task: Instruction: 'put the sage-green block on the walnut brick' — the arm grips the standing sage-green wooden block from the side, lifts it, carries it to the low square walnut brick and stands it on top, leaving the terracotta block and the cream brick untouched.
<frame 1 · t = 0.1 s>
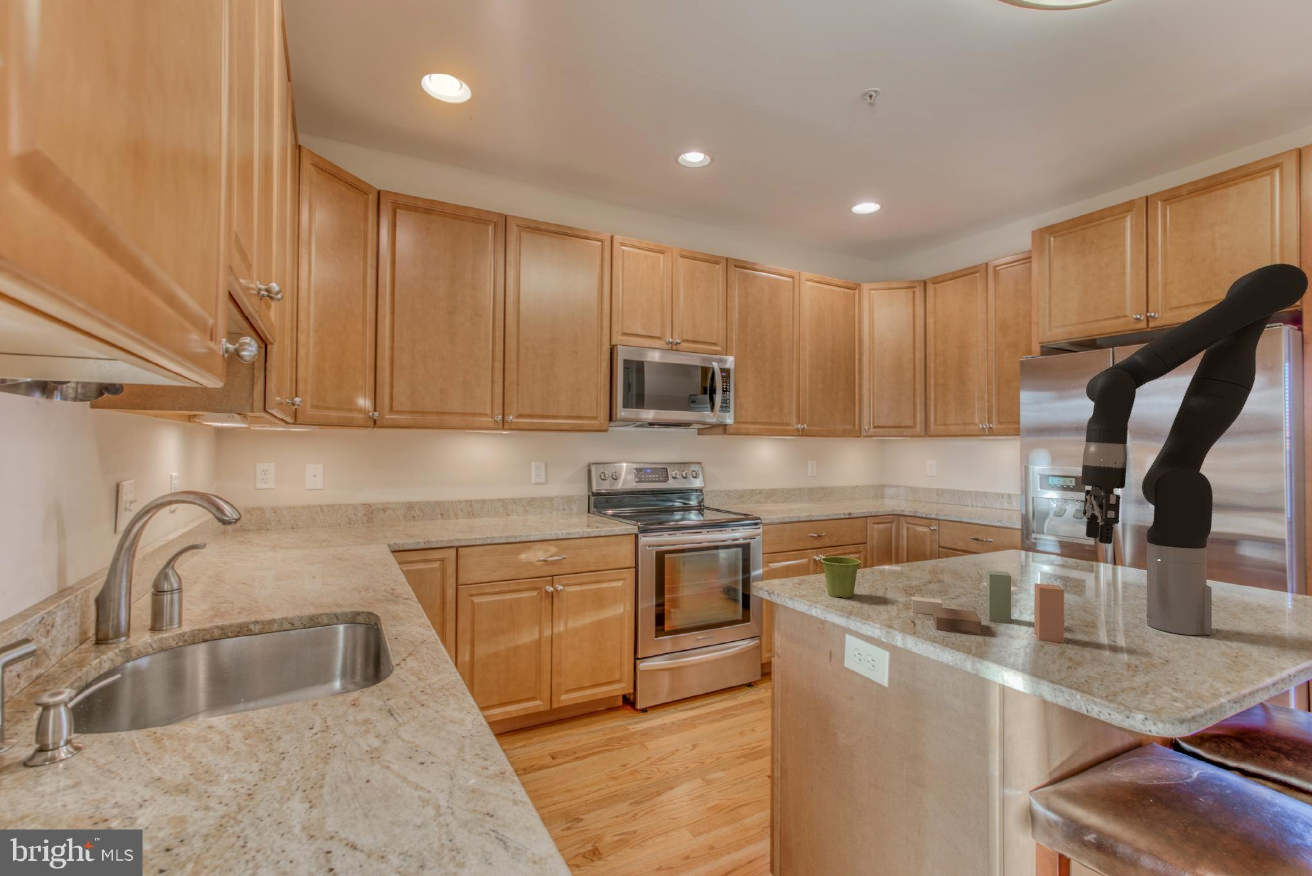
hand: (1098, 540, 126), 17 cm above the countertop, tool pointing down, fingers open, 8 cm apart
sage block: (998, 619, 127), on the countertop
terracotta block: (1048, 637, 115), on the countertop
walnut brick: (956, 628, 122), on the countertop
cream brick: (926, 613, 132), on the countertop
object: (840, 596, 146), on the countertop
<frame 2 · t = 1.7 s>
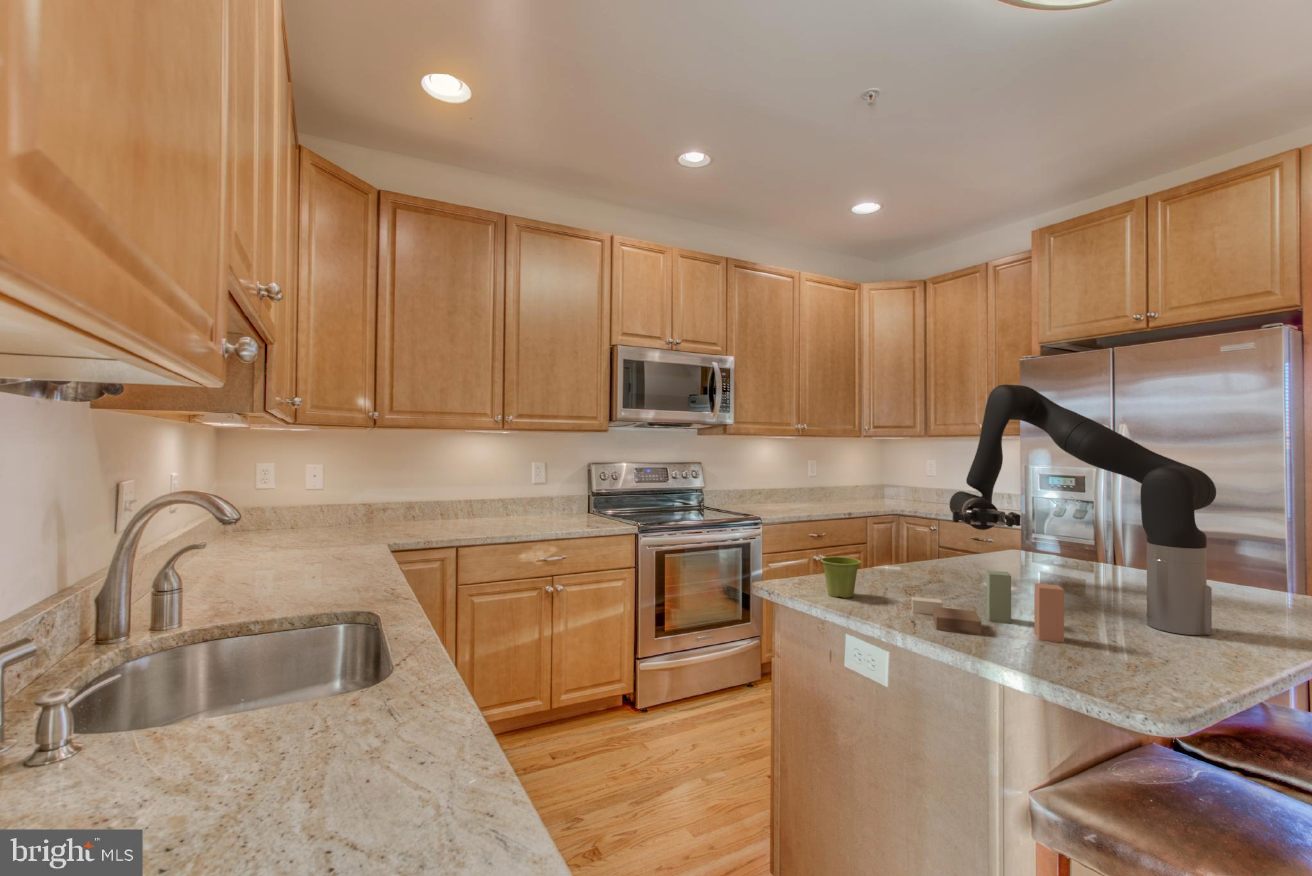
hand: (989, 521, 137), 20 cm above the countertop, tool horizontal, fingers open, 8 cm apart
nothing on the countertop moved.
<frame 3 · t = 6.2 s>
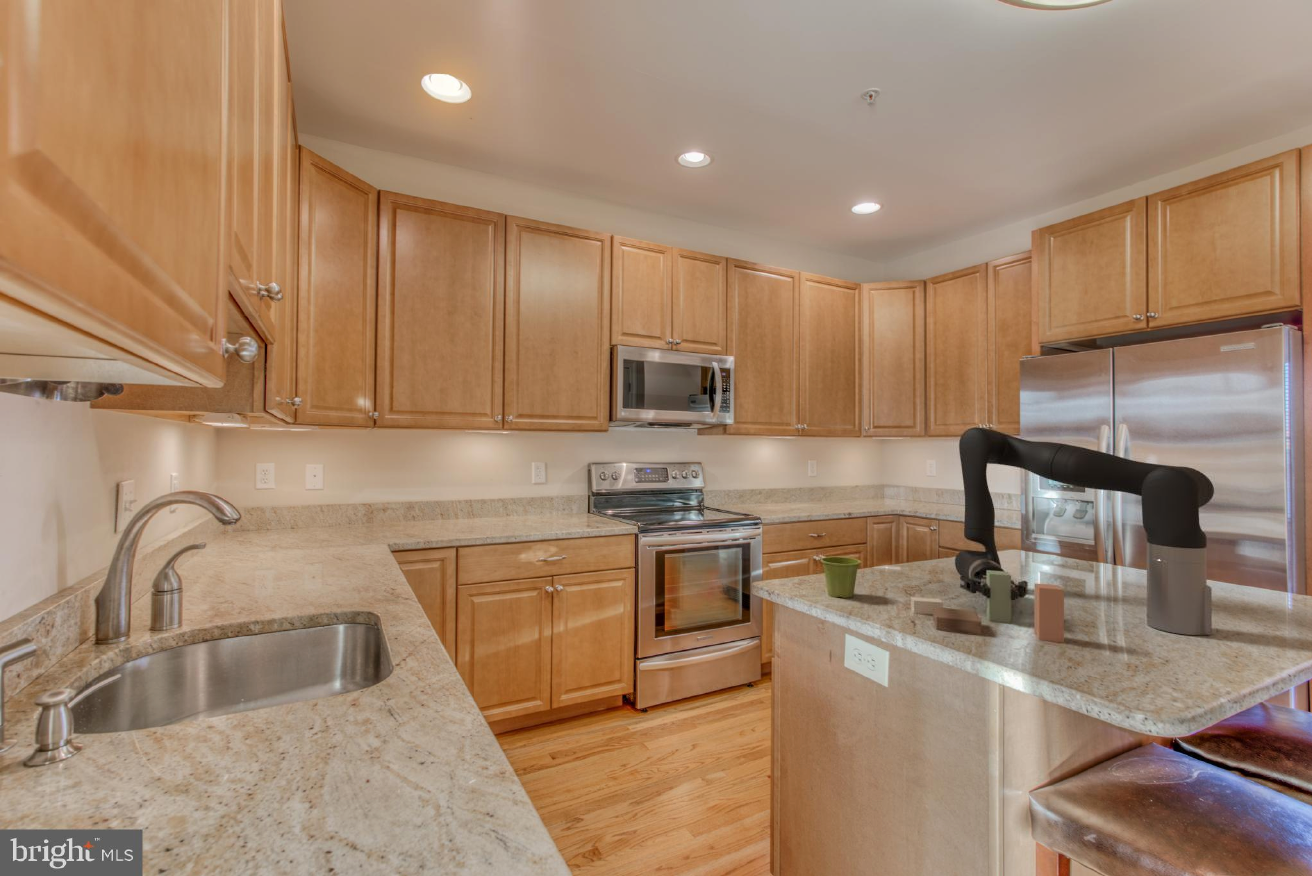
hand: (1001, 594, 124), 6 cm above the countertop, tool horizontal, fingers closed on sage block, 4 cm apart
sage block: (998, 619, 127), on the countertop, touching gripper
everything else where it was.
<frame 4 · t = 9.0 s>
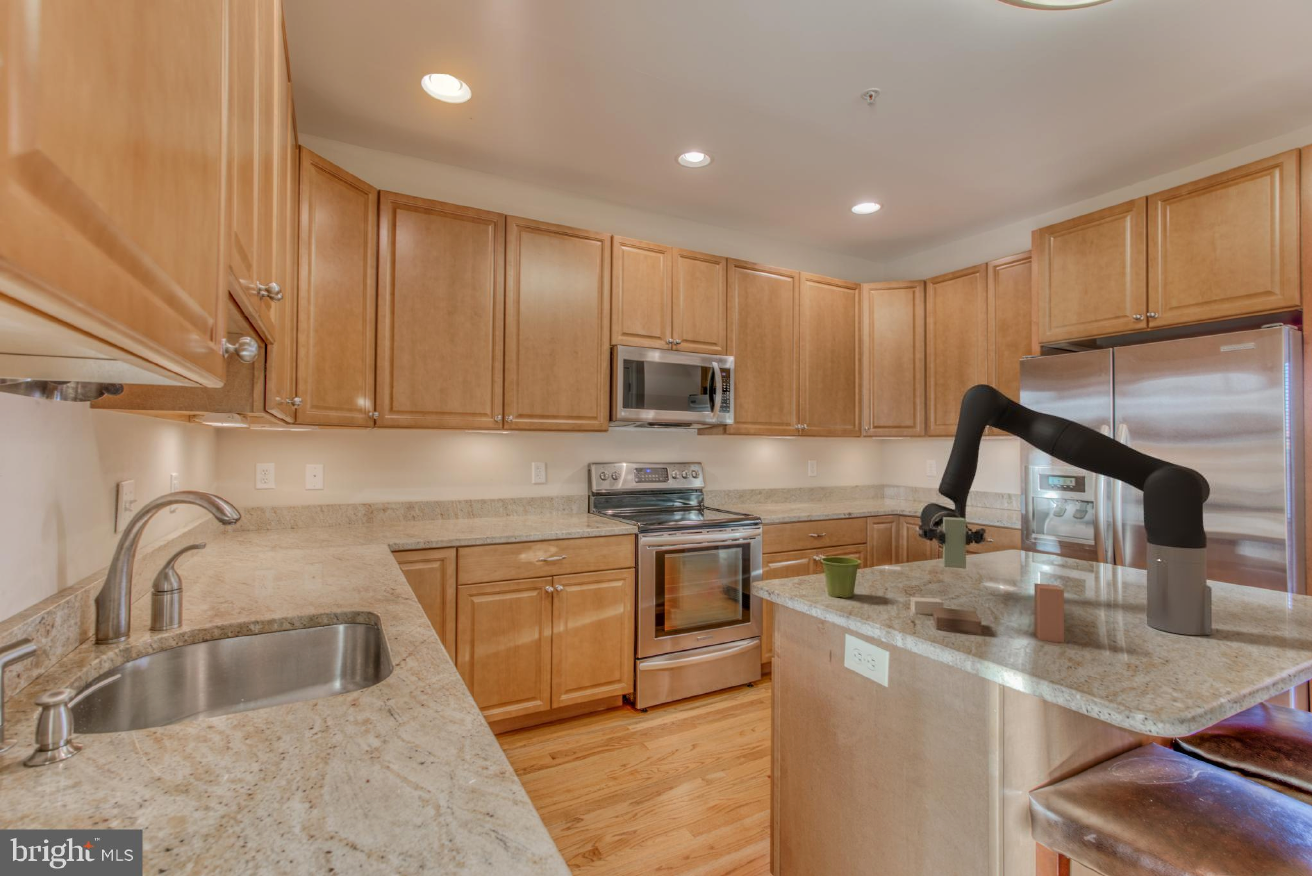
hand: (955, 539, 122), 18 cm above the countertop, tool horizontal, fingers closed on sage block, 4 cm apart
sage block: (954, 565, 125), point 12 cm above the countertop, touching gripper
everything else where it was.
when the fingers open (10 cm above the countertop, at t = 11.6 s): sage block drops 1 cm, point 3 cm above the countertop.
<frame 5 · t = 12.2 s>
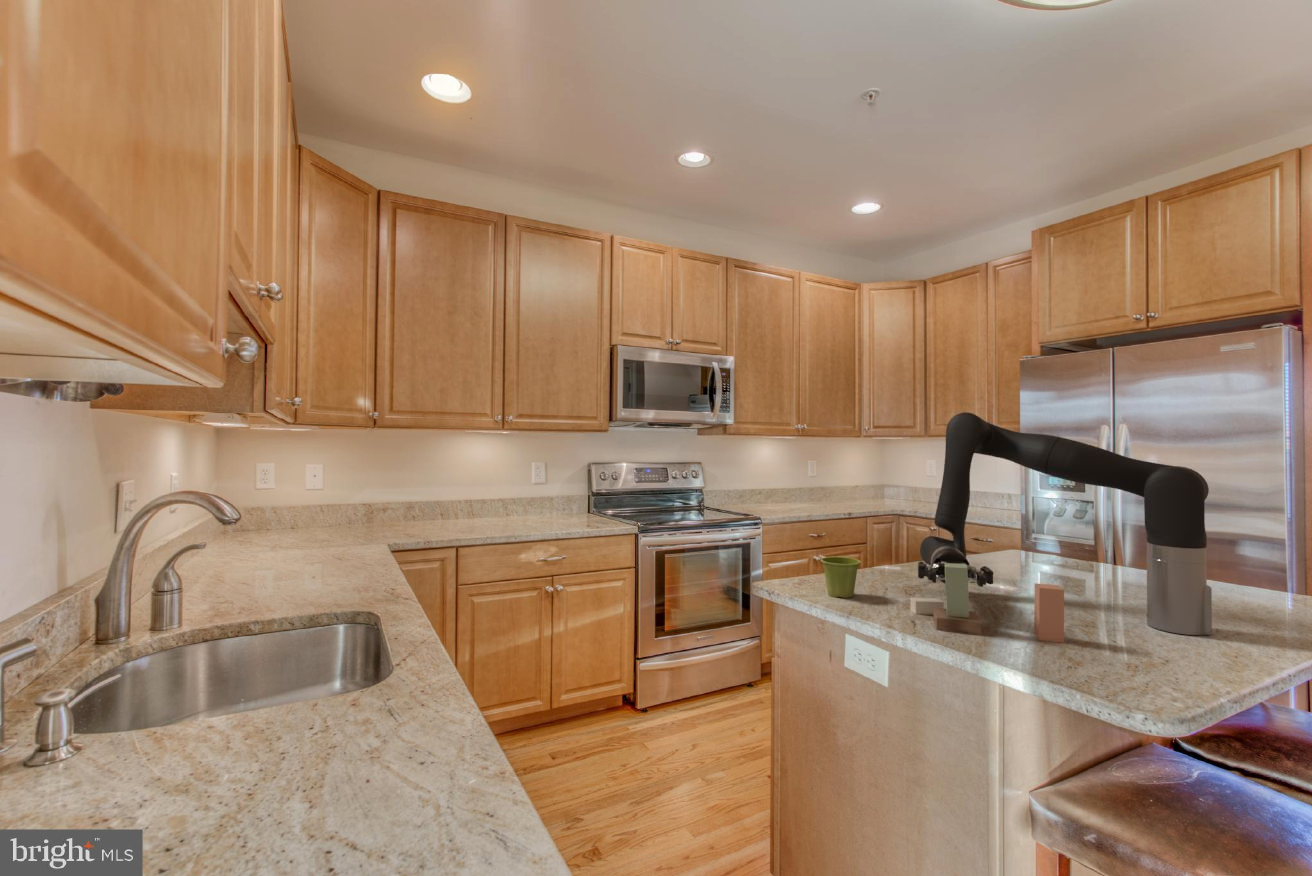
hand: (957, 579, 120), 10 cm above the countertop, tool horizontal, fingers open, 8 cm apart
sage block: (957, 614, 121), point 3 cm above the countertop
everything else where it was.
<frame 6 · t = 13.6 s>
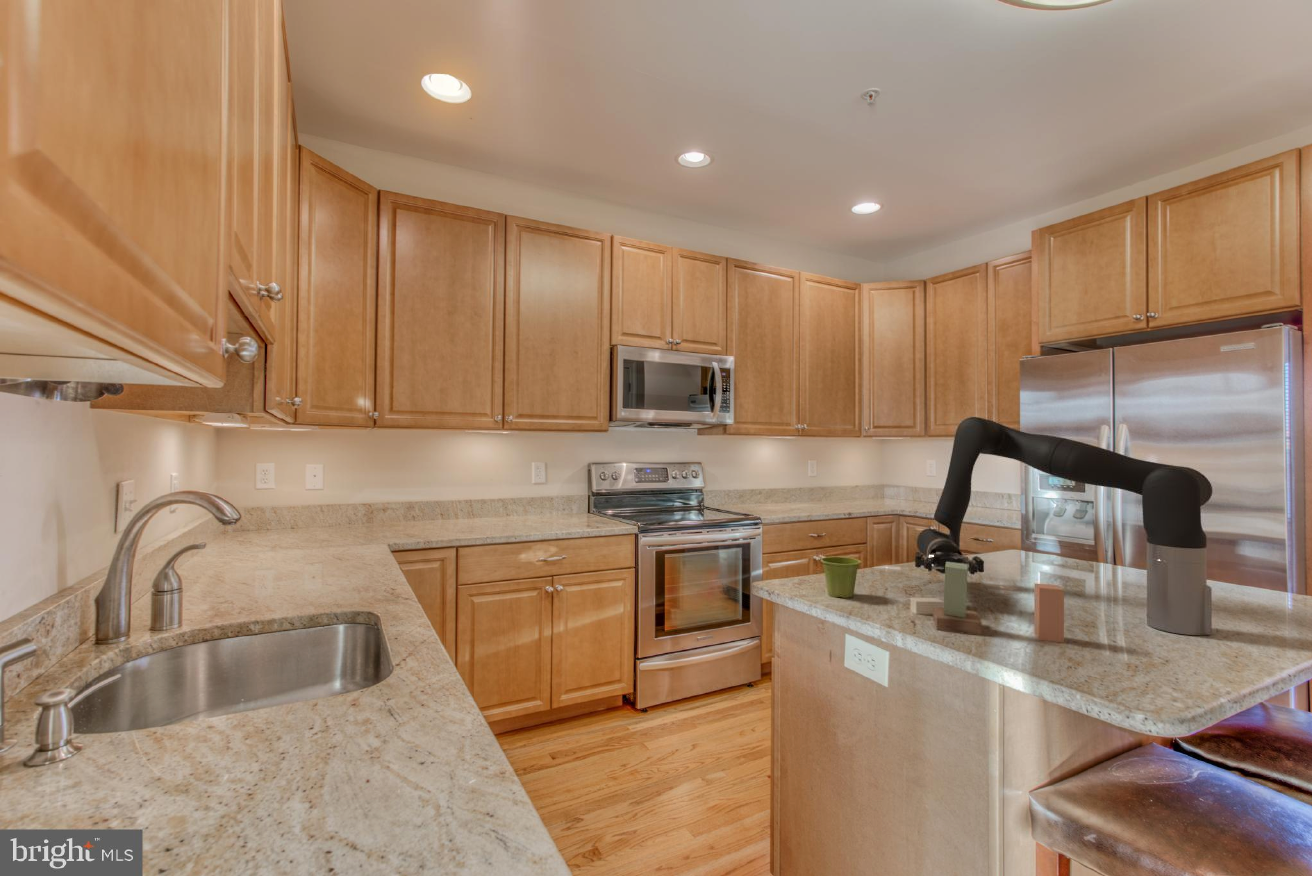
hand: (951, 568, 131), 10 cm above the countertop, tool horizontal, fingers open, 8 cm apart
nothing on the countertop moved.
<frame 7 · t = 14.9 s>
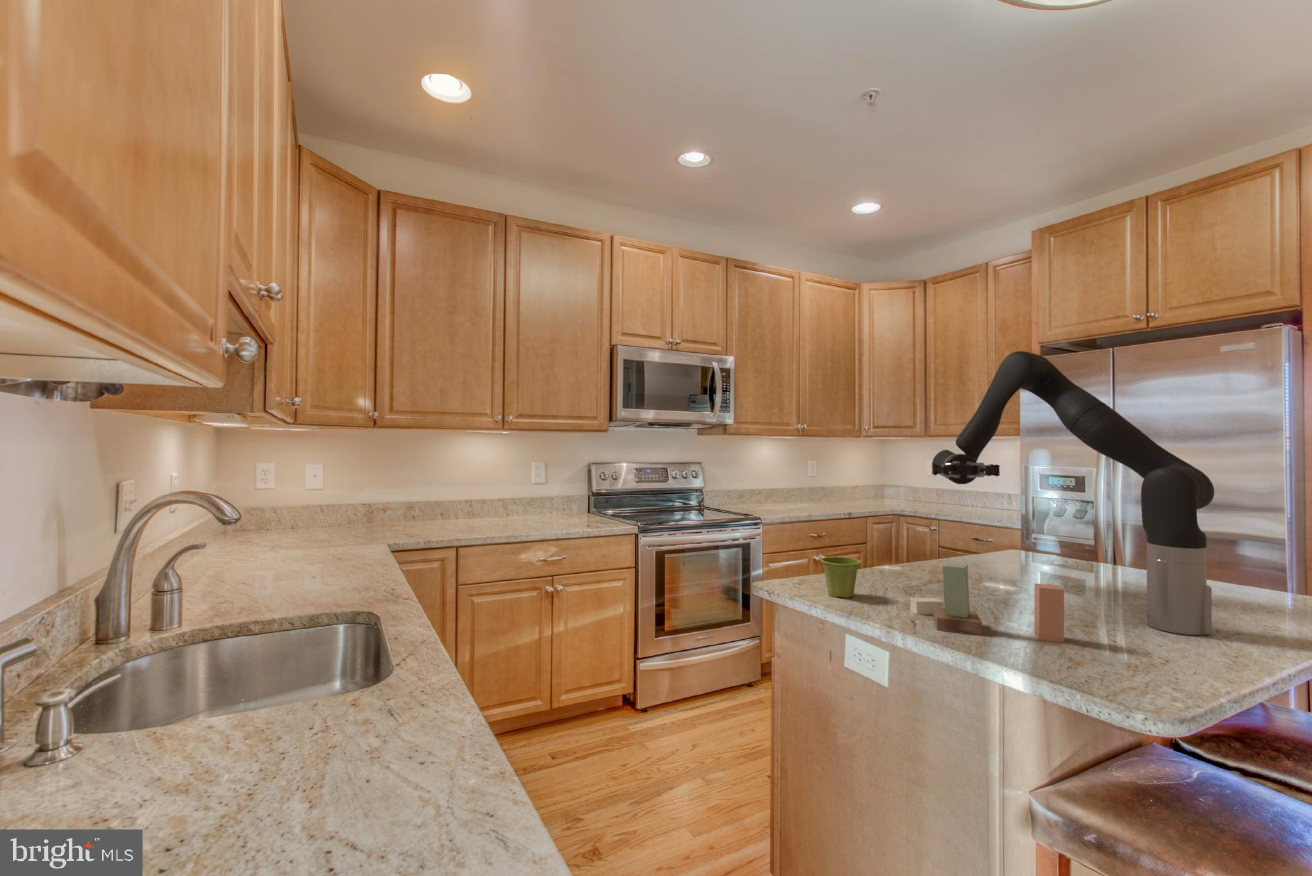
hand: (968, 470, 135), 32 cm above the countertop, tool horizontal, fingers open, 8 cm apart
sage block: (957, 614, 121), point 3 cm above the countertop, touching walnut brick
walnut brick: (956, 629, 121), on the countertop, touching sage block
everything else where it was.
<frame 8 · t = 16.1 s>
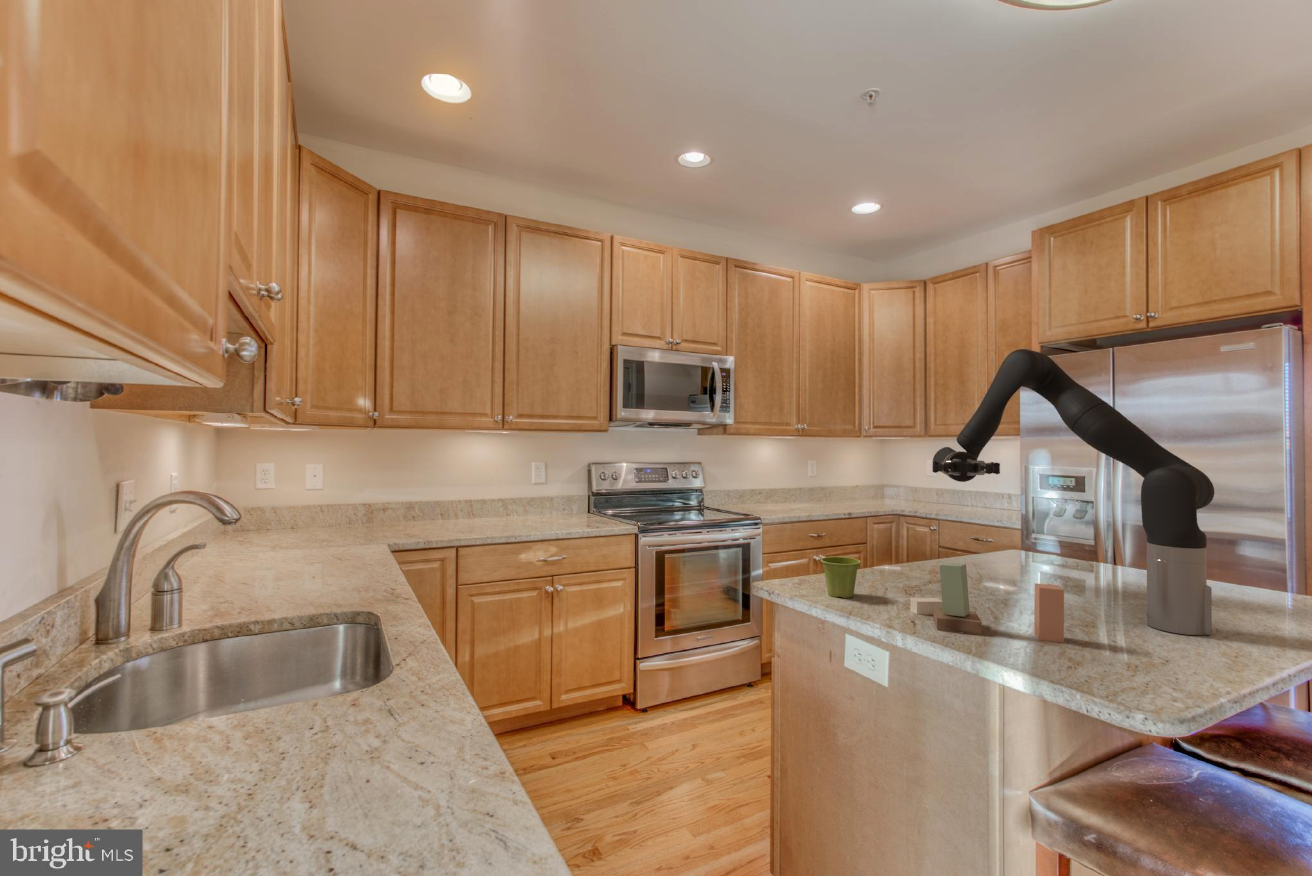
hand: (968, 468, 135), 32 cm above the countertop, tool horizontal, fingers open, 8 cm apart
nothing on the countertop moved.
at the end: sage block 0.1 cm off-centre on the walnut brick, point 3.2 cm above the walnut brick's base; sage block tilted 3°; terracotta block moved 0.0 cm from its start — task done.
